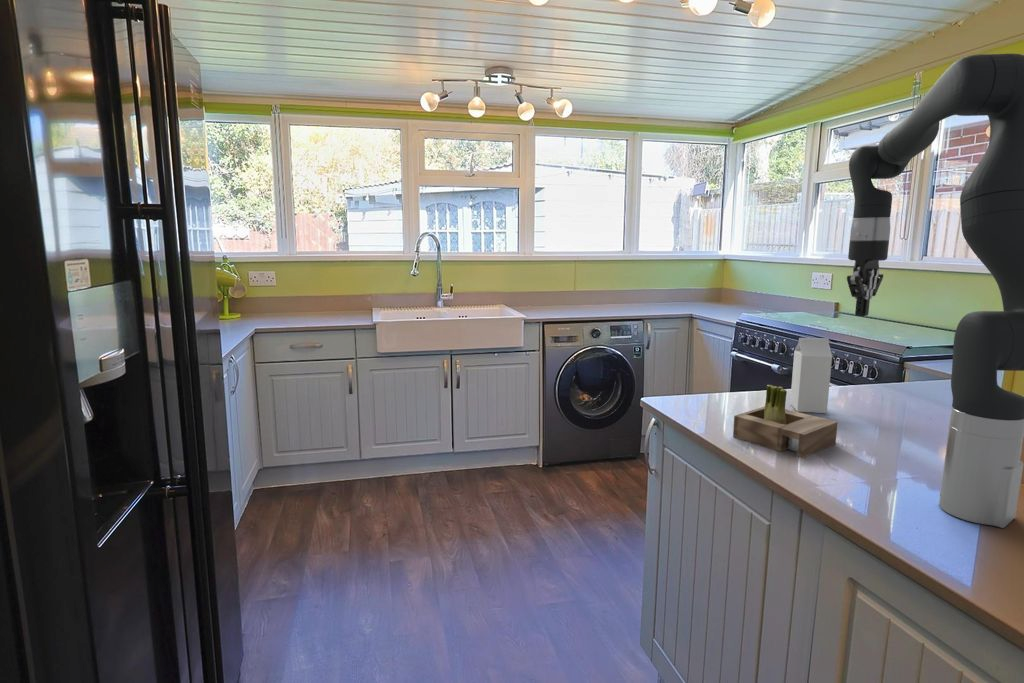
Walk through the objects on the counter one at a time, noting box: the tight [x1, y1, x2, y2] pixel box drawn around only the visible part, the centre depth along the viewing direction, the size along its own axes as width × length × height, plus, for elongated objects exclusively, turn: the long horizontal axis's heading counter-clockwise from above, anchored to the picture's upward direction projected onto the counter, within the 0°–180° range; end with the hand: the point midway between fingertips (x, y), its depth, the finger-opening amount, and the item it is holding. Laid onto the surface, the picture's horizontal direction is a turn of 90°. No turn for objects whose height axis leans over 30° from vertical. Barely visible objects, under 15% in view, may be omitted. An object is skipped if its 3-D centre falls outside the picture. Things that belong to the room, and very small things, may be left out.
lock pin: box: [787, 437, 799, 453], centre depth 124 cm, size 4×13×4 cm, turn 126°
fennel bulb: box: [764, 384, 788, 425], centre depth 129 cm, size 6×5×12 cm
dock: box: [732, 405, 839, 459], centre depth 128 cm, size 16×14×5 cm
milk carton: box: [789, 337, 833, 414], centre depth 150 cm, size 7×7×19 cm
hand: (861, 315), depth 131 cm, fingers closed
